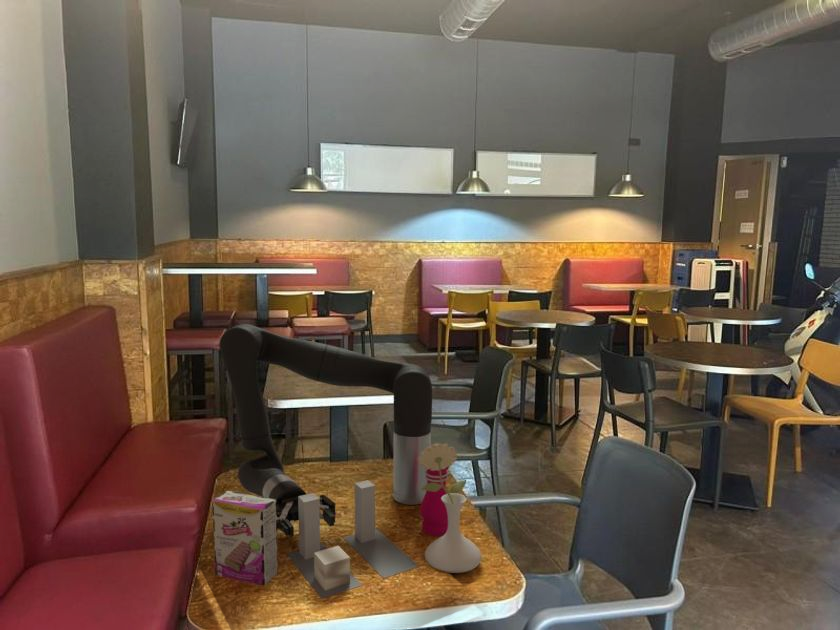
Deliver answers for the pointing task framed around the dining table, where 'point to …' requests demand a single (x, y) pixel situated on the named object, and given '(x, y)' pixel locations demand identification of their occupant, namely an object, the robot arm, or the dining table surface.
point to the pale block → (331, 567)
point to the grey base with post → (375, 536)
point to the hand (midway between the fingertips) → (312, 526)
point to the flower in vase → (449, 517)
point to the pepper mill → (435, 505)
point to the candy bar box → (245, 537)
